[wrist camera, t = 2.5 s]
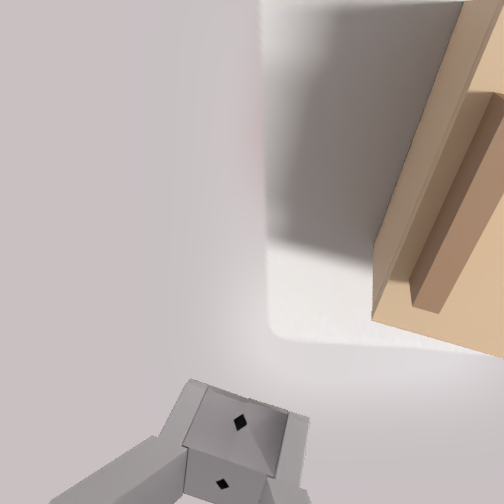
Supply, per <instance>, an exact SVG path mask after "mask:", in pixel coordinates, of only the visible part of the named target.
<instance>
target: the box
mask: <svg viewBox="0 0 504 504" xmlns="http://www.w3.org/2000/svg"><path fill="white" fill-rule="evenodd" d="M499 2H500V0H469V1H464V3H463V6H462V8H461V11H460V14H459V17H458V19H457V22H456V25H455V27H454V30H453V33H452V35H451V38H450V41H449V43H448V46H447V49H446V52H445V54H444V57H443V60H442V62H441V65H440V68H439V70H438V73H437V76H436V78H435V81H434V84H433V87H432V89H431V92H430V95H429V97H428V100H427V103H426V105H425V108H424V111H423V113H422V116H421V119H420V122H419V124H418V127H417V130H416V132H415V135H414V138H413V140H412V143H411V146H410V148H409V151H408V154H407V156H406V159H405V162H404V165H403V167H402V170H401V173H400V175H399V178H398V181H397V183H396V186H395V189H394V191H393V194H392V197H391V200H390V202H389V205H388V208H387V210H386V213H385V216H384V218H383V221H382V224H381V226H380V229H379V232H378V235H377V237H376V240H375V243H374V245H373V307H372V309H373V308H374V305H375V303H376V300H377V298H378V295H379V293H380V291H381V288H382V286H383V283H384V281H385V278H386V276H387V274H388V271H389V269H390V266H391V264H392V262H393V259H394V257H395V254H396V252H397V249H398V247H399V245H400V242H401V240H402V237H403V235H404V232H405V230H406V228H407V225H408V223H409V220H410V218H411V215H412V213H413V211H414V208H415V206H416V203H417V201H418V199H419V196H420V194H421V191H422V189H423V186H424V184H425V182H426V179H427V177H428V174H429V172H430V169H431V167H432V165H433V162H434V160H435V157H436V155H437V153H438V150H439V148H440V145H441V143H442V140H443V138H444V136H445V133H446V131H447V128H448V126H449V123H450V121H451V119H452V116H453V114H454V111H455V109H456V106H457V104H458V102H459V99H460V97H461V94H462V92H463V90H464V87H465V85H466V82H467V80H468V77H469V75H470V73H471V70H472V68H473V65H474V63H475V60H476V58H477V56H478V53H479V51H480V48H481V46H482V43H483V41H484V39H485V36H486V34H487V31H488V29H489V27H490V24H491V22H492V19H493V17H494V14H495V12H496V10H497V7H498V5H499Z"/></svg>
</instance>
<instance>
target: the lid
mask: <svg viewBox="0 0 504 504" xmlns="http://www.w3.org/2000/svg"><path fill="white" fill-rule="evenodd" d="M371 321H375V322H378V323H382V324H385V325H389V326H392V327H396V328H399V329H403V330H406V331H410V332H413V333H417V334H420V335H424V336H427V337H431V338H434V339H437V340H441V341H444V342H448V343H451V344H455V345H458V346H462V347H465V348H469V349H472V350H476V351H479V352H483V353H486V354H490V355H493V356H497V357H500V358H504V0H500V2H499V5H498V7H497V10H496V12H495V14H494V17H493V19H492V22H491V24H490V27H489V29H488V31H487V34H486V36H485V39H484V41H483V43H482V46H481V48H480V51H479V53H478V56H477V58H476V60H475V63H474V65H473V68H472V70H471V73H470V75H469V77H468V80H467V82H466V85H465V87H464V90H463V92H462V94H461V97H460V99H459V102H458V104H457V106H456V109H455V111H454V114H453V116H452V119H451V121H450V123H449V126H448V128H447V131H446V133H445V136H444V138H443V140H442V143H441V145H440V148H439V150H438V153H437V155H436V157H435V160H434V162H433V165H432V167H431V169H430V172H429V174H428V177H427V179H426V182H425V184H424V186H423V189H422V191H421V194H420V196H419V199H418V201H417V203H416V206H415V208H414V211H413V213H412V215H411V218H410V220H409V223H408V225H407V228H406V230H405V232H404V235H403V237H402V240H401V242H400V245H399V247H398V249H397V252H396V254H395V257H394V259H393V262H392V264H391V266H390V269H389V271H388V274H387V276H386V278H385V281H384V283H383V286H382V288H381V291H380V293H379V295H378V298H377V300H376V303H375V305H374V308H373V310H372V320H371Z"/></svg>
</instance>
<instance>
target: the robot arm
mask: <svg viewBox="0 0 504 504" xmlns="http://www.w3.org/2000/svg"><path fill="white" fill-rule="evenodd" d="M309 427H310V419H309V417H306V416H303V415H300V414H296V413H293V412H290V411H289V412H288V410H286V409H282V408H279V407H276V406H273V405H270V404H266V403H263V402H260V401H257V400H254V399H251V398H249V399H248V398H245V397H242V396H239V395H237V394H234V393H231V392H228V391H225V390H222V389H219V388H217V387H214V386H211V385H208V384H205V383H202V382H199V381H196V380H193V379H189V381H188V382H187V383H186V384H185V386H184V388H183V390H182V392H181V394H180V396H179V398H178V400H177V402H176V404H175V405H174V408H173V409H172V411H171V413H170V415H169V417H168V419H167V421H166V423H165V425H164V427H163V429H162V431H161V433H160V435H159V437H155V436H151V437H149V438H148V439H146V440H144V441H143V442H141V443H140V444H138V445H137V446H135V447H133V448H132V449H130V450H129V451H127V452H126V453H124V454H123V455H121V456H119V457H118V458H116V459H115V460H113V461H112V462H110V463H108V464H107V465H106V466H104V467H102V468H101V469H100V470H98V471H96V472H94V473H93V474H91V475H90V476H88V477H87V478H85V479H84V480H82V481H80V482H79V483H77V484H76V485H74V486H73V487H71V488H70V489H68V490H66V491H65V492H64V493H62V494H60V495H59V496H57V497H55V498H54V499H52V500H51V501H50V503H49V504H174V503H175V502H176V501H177V500H178V499H179V498H180V497H181V496H182V495H183V493H184V494H187V495H190V496H193V497H196V498H199V499H202V500H205V501H208V502H211V503H214V504H311V501H310V498H309V496H308V493H307V490H304V489H302V488H300V484H301V478H302V471H303V465H304V459H305V452H306V446H307V440H308V433H309Z"/></svg>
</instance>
